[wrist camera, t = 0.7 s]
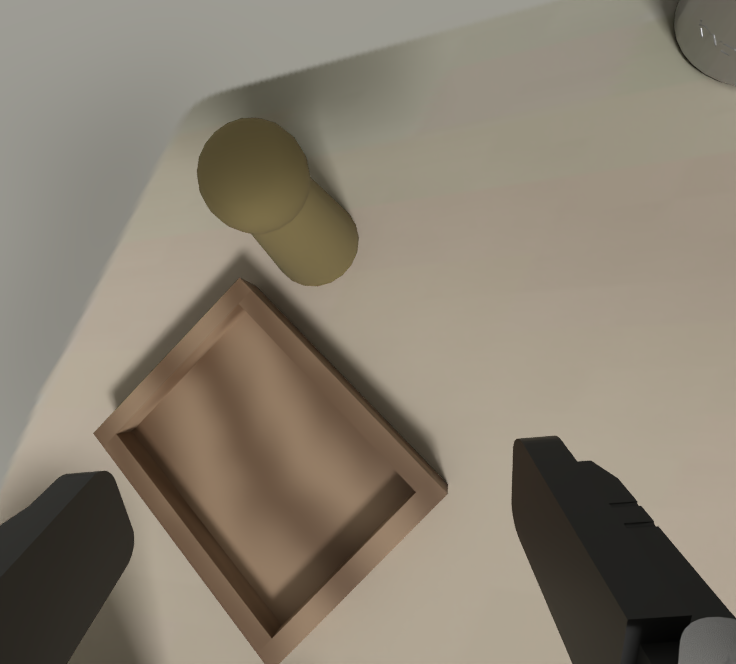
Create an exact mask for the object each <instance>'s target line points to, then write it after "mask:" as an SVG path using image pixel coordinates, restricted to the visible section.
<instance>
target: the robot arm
mask: <svg viewBox="0 0 736 664" xmlns="http://www.w3.org/2000/svg"><path fill="white" fill-rule="evenodd" d="M674 28H675V33H676V39H677V41H678V44H679V46H680V48H681V50H682V52H683V54H684V55H685V56H686V57H687V58H688V60H689V61H690V62H691V63H692V64H693V65H694V66H695V67H696V68H698V69H699V70H700V71H702V72H703V73H704V74H706V75H708V76H710V77H712V78H714V79H716V80H718V81H720V82H724V83H728V84H731V85H735V86H736V0H679V2H678V5H677V8H676V11H675V21H674ZM512 513H513V519H514V524H515V528H516V531H517V534H518V537H519V539H520V542H521V544H522V546H523V549H524V551H525V553H526V556H527V558H528V560H529V563H530V565H531V568H532V570H533V572H534V575H535V577H536V579H537V582H538V584H539V586H540V589H541V591H542V593H543V596H544V598H545V600H546V603H547V605H548V607H549V610H550V612H551V614H552V617H553V619H554V621H555V624H556V626H557V628H558V631H559V633H560V635H561V638H562V640H563V642H564V645H565V647H566V650H567V652H568V654H569V657H570V659H571V661H572V664H736V618H735V616H734V615H733V614H732V613H731V612H730V611H729V610H728V609H727V607H726V606H725V605H724V604H723V603H722V602H721V600H720V599H719V598H718V597H717V596H716V594H715V593H714V592H713V591H712V590H711V588H710V587H709V586H708V585H707V584H706V582H705V581H704V580H703V579H702V578H701V577H700V575H699V574H698V573H697V572H696V571H695V569H694V568H693V567H692V566H691V565H690V563H689V562H688V561H687V560H686V559H685V558H684V556H683V555H682V554H681V553H680V552H679V550H678V549H677V548H676V547H675V546H674V544H673V543H672V542H671V541H670V540H669V539H668V537H667V536H666V535H665V534H664V533H663V531H662V530H661V529H660V528H659V527H658V526H657V527H656V526H655V525H654V521H653V520H652V518H651V517H650V516H649V515H648V514H647V512H646V511H645V510H644V509H643V508H642V506H638V504H637V501H636V499H635V498H634V497H633V496H632V495H631V493H630V492H629V491H628V490H627V489H626V487H625V486H624V485H623V484H622V483H621V482H620V480H619V479H618V478H616V477H615V476H613V475H612V474H610V473H609V472H607V471H606V470H604V469H603V468H601V467H600V466H598V465H597V464H595V463H594V462H592V461H580V462H577V461H576V459H575V458H574V457H573V455H572V454H571V453H570V451H569V450H568V449H567V447H566V446H565V445H564V443H563V442H562V441H561V439H560V438H559V437H557V436H546V437H533V438H521V439H516V440H515V442H514V446H513V471H512ZM133 546H134V532H133V528H132V526H131V523H130V520H129V517H128V514H127V512H126V509H125V506H124V503H123V500H122V498H121V495H120V492H119V489H118V487H117V484H116V481H115V479H114V477H113V475H112V474H111V473H109V472H107V471H97V472H84V473H72V474H65V475H62V476H61V477H59V478H58V479H57V480H56V481H55V482H54V483H52V484H51V485H50V486H49V487H48V488H47V489H46V490H45V491H44V492H43V493H42V494H41V495H40V496H39V497H38V498H37V499H36V500H35V501H34V502H33V503H32V504H31V505H30V506H29V507H27V508H26V509H24V510H23V511H21V512H20V513H18V514H17V515H15V516H14V517H12V518H11V519H9V520H8V521H6V522H5V523H3V524H2V525H0V664H67V662H68V661H69V659H70V658H71V656H72V654H73V653H74V651H75V649H76V648H77V646H78V645H79V643H80V641H81V640H82V638H83V636H84V635H85V633H86V632H87V630H88V628H89V627H90V625H91V623H92V622H93V620H94V619H95V617H96V615H97V614H98V612H99V610H100V609H101V607H102V606H103V604H104V602H105V601H106V599H107V597H108V596H109V594H110V593H111V591H112V589H113V588H114V586H115V585H116V583H117V581H118V580H119V578H120V576H121V575H122V573H123V572H124V570H125V568H126V567H127V565H128V563H129V561H130V558H131V555H132V552H133Z"/></svg>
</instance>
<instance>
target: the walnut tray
mask: <svg viewBox="0 0 736 664" xmlns="http://www.w3.org/2000/svg"><path fill="white" fill-rule="evenodd" d="M93 434H94V435H95V436H96V438H97V439H98V440H99V442H100V443H101V444H102V446H103V447H104V448H105V450H106V451H107V452H108V454H109V455H110V456H111V458H112V459H113V460H114V462H115V463H116V464H117V466H118V467H119V468H120V470H121V471H122V472H123V474H124V475H125V477H126V478H127V479H128V481H129V482H130V483H131V485H132V486H133V487H134V489H135V490H136V491H137V493H138V494H139V495H140V497H141V498H142V499H143V501H144V502H145V503H146V505H147V506H148V507H149V509H150V510H151V511H152V513H153V514H154V516H155V517H156V518H157V520H158V521H159V522H160V524H161V525H162V526H163V528H164V529H165V530H166V532H167V533H168V534H169V536H170V537H171V538H172V540H173V541H174V542H175V544H176V545H177V546H178V548H179V549H180V550H181V552H182V553H183V555H184V556H185V557H186V559H187V560H188V561H189V563H190V564H191V565H192V567H193V568H194V569H195V571H196V572H197V573H198V575H199V576H200V577H201V579H202V580H203V581H204V583H205V584H206V585H207V587H208V588H209V589H210V591H211V592H212V593H213V595H214V596H215V598H216V599H217V600H218V602H219V603H220V604H221V606H222V607H223V608H224V610H225V611H226V612H227V614H228V615H229V616H230V618H231V619H232V620H233V622H234V623H235V624H236V626H237V627H238V628H239V630H240V631H241V632H242V634H243V635H244V637H245V638H246V639H247V641H248V642H249V643H250V645H251V646H252V647H253V649H254V650H255V651H256V653H257V654H258V655H259V657H260V658H261V659H262V661H263V662H264V663H265V664H279V663H280V662H281V661H282V660H283V659H284V658H285V657H286V656H287V655H288V654H289V653H290V652H291V651H292V650H293V649H294V648H295V647H296V646H297V645H298V644H299V643H300V642H301V641H302V640H303V639H304V638H305V637H306V636H307V635H308V634H309V633H310V632H311V631H312V630H313V629H314V628H315V627H316V626H317V625H318V624H319V623H320V622H321V621H322V620H323V619H324V618H325V617H326V616H327V615H328V614H329V613H330V612H331V611H332V610H333V609H334V608H335V607H336V606H337V605H338V604H339V603H340V602H341V601H342V600H343V599H344V598H345V597H346V596H347V595H348V594H349V593H350V592H351V591H352V590H353V589H354V588H355V587H356V586H357V585H358V584H359V583H360V582H361V581H362V580H363V579H364V578H365V577H366V576H367V575H368V574H369V573H370V572H371V571H372V570H373V568H374V567H375V566H376V565H377V564H378V563H379V562H380V561H381V560H382V559H383V558H384V557H385V556H386V555H387V554H388V553H389V552H390V551H391V550H392V549H393V548H394V547H395V546H396V545H397V544H398V543H399V542H400V541H401V540H402V539H403V538H404V537H405V536H406V535H407V534H408V533H409V532H410V531H411V530H412V529H413V528H414V527H415V526H416V525H417V524H418V523H419V522H420V521H421V520H422V519H423V518H424V517H425V516H426V515H427V514H428V513H429V512H430V511H431V510H432V509H433V508H434V507H435V506H436V505H437V504H438V503H439V502H440V501H441V500H442V499H443V498H444V497H445V496H446V495H447V494H448V484H447V483H446V482H445V481H444V480H443V479H442V478H441V477H440V476H439V475H438V473H437V472H436V471H435V470H434V469H433V468H432V467H431V466H430V465H429V464H428V463H427V462H426V461H425V460H424V459H423V458H422V457H421V456H420V455H419V454H418V453H417V452H416V451H415V450H414V449H413V448H412V447H411V446H410V445H409V444H408V443H407V441H406V440H405V439H404V438H403V437H402V436H401V435H400V434H399V433H398V432H397V431H396V430H395V429H394V428H393V427H392V426H391V425H390V424H389V423H388V422H387V421H386V420H385V419H384V418H383V417H382V416H381V415H380V414H379V413H378V412H377V411H376V409H375V408H374V407H373V406H372V405H371V404H370V403H369V402H368V401H367V400H366V399H365V398H364V397H363V396H362V395H361V394H360V393H359V392H358V391H357V390H356V389H355V388H354V387H353V386H352V385H351V384H350V383H349V382H348V381H347V380H346V378H345V377H344V376H343V375H342V374H341V373H340V372H339V371H338V370H337V369H336V368H335V367H334V366H333V365H332V364H331V363H330V362H329V361H328V360H327V359H326V358H325V357H324V356H323V355H322V354H321V353H320V352H319V351H318V350H317V349H316V348H315V346H314V345H313V344H312V343H311V342H310V341H309V340H308V339H307V338H306V337H305V336H304V335H303V334H302V333H301V332H300V331H299V330H298V329H297V328H296V327H295V326H294V325H293V324H292V323H291V322H290V321H289V320H288V319H287V318H286V317H285V316H284V314H283V313H282V312H281V311H280V310H279V309H278V308H277V307H276V306H275V305H274V304H273V303H272V302H271V301H270V300H269V299H268V298H267V297H266V296H265V295H264V294H263V293H262V292H261V291H260V290H259V289H258V288H257V287H256V286H255V285H253V284H251V283H249V282H247V281H245V280H243V279H241V278H239V279H238V280H237V281H236V282H235V283H234V284H233V285H232V286H231V287H230V288H229V289H228V291H227V292H226V293H225V294H224V295H223V296H222V297H221V298H220V299H219V300H218V301H217V302H216V303H215V304H214V305H213V306H212V308H211V309H210V310H209V311H208V312H207V313H206V314H205V315H204V316H203V317H202V318H201V319H200V320H199V321H198V322H197V324H196V325H195V326H194V327H193V328H192V329H191V330H190V331H189V332H188V333H187V334H186V335H185V336H184V337H183V338H182V339H181V341H180V342H179V343H178V344H177V345H176V346H175V347H174V348H173V349H172V350H171V351H170V352H169V353H168V354H167V355H166V357H165V358H164V359H163V360H162V361H161V362H160V363H159V364H158V365H157V366H156V367H155V368H154V369H153V370H152V371H151V372H150V374H149V375H148V376H147V377H146V378H145V379H144V380H143V381H142V382H141V383H140V384H139V385H138V386H137V387H136V388H135V390H134V391H133V392H132V393H131V394H130V395H129V396H128V397H127V398H126V399H125V400H124V401H123V402H122V403H121V404H120V405H119V407H118V408H117V409H116V410H115V411H114V412H113V413H112V414H111V415H110V416H109V417H108V418H107V419H106V420H105V421H104V423H103V424H102V425H101V426H100V427H99V428H98V429H97V430H96V431H95V432H94V433H93Z"/></svg>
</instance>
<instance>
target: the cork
mask: <svg viewBox="0 0 736 664" xmlns="http://www.w3.org/2000/svg"><path fill="white" fill-rule="evenodd" d="M197 177H198V183H199V190H200V193H201V195H202V197H203V199H204V201H205V203H206V204H207V206H208V208H209V209H210V211H211V212H212V213H213V214H214V215H215V216H216V217H218V218H219V219H220V220H221V221H222V222H223V223H225V224H226V225H228V226H229V227H232V228H234V229H237V230H240V231H242V232H246V233H251V234H252V235H253V237H254V238H255V239H256V240H257V241H258V243H259V244H260V245H261V246H262V248H263V249H264V250H265V251H266V252H267V254H268V255H269V256H270V257H271V259H272V260H273V261H274V262H275V263H276V265H277V266H278V267H279V268H280V270H281V271H282V272H283V273H284V274H285V275H286V276H287V277H289V278H290V279H291V280H292V281H294V282H297V283H299V284H302V285H305V286H320V285H324V284H327V283H331V282H332V281H334V280H335V279H337V278H339V277H340V276H342V275H343V274H344V273H345V271H346V270H347V269H348V268H349V267H350V266H351V264H352V262H353V260H354V258H355V255H356V253H357V249H358V239H359V237H358V233H357V228H356V225H355V223H354V221H353V220H352V218H351V216H350V215H349V214H348V213H347V212H346V211H345V210H344V209H343V208H342V207H341V206H340V205H339V204H338V203H337V202H336V201H335V200H334V199H333V198H332V197H331V196H330V195H329V194H328V193H327V192H325V191H324V190H323V189H322V188H321V187H320V186H319V185H318V184H317V183H316V182H315V181H314V180H313V179H312V178H311V177H310V173H309V168H308V164H307V159H306V156H305V154H304V153H303V151H302V149H301V148H300V146H299V144H298V143H297V141H296V140H295V138H294V137H293V136H292V135H291V134H289V133H288V132H287V131H285V130H284V129H283V128H281V127H280V126H279V125H277V124H276V123H274V122H270V121H267V120H264V119H259V118H241V119H238V120H235V121H232V122H229V123H227V124H226V125H224V126H223V127H221V128H220V129H218V130H217V131H216V132H215V133H214V134H213V135H212V136H211V137H210V138H209V140H208V141H207V142H206V143H205V145H204V148H203V150H202V152H201V154H200V156H199V162H198V168H197Z"/></svg>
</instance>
